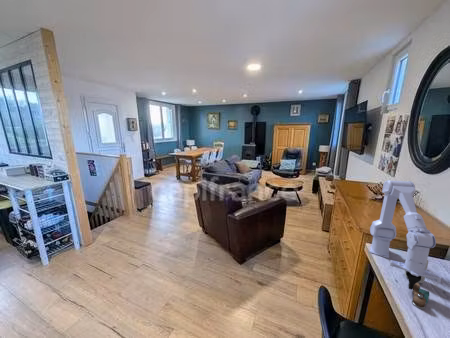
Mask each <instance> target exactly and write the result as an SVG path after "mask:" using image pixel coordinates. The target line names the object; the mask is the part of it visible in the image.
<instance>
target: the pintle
mask: <svg viewBox="0 0 450 338" xmlns="http://www.w3.org/2000/svg"><path fill="white" fill-rule="evenodd" d="M423 295H424V294H422V295H421V294H418V295H417V296H418V297H419V298H421V299H423ZM411 304H412V305H413V306H414V307H416V308H417V309H420V310H426V306H425V307H419V306H417V305H416V304H414V302H413V299H412V300H411Z"/></svg>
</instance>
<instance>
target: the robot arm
mask: <svg viewBox="0 0 450 338" xmlns="http://www.w3.org/2000/svg"><path fill="white" fill-rule="evenodd" d="M415 185H416V184H415V183H414V182H413V181H412V180H409V181H407V180H406V181H405V180H390V179H388V180H385V181H384V182H383V186H382V192H381V193H383V194H384V196H383V200H382V206H381V210H380V215H379V219H377V220H373V221H372V222H371V225H370V226H369V232H370V235H371V236H372V242H371V244H370V250H369V252H370V253H371V254H374V255H377V256H381V257H383V258H386V259H390V245H391V241H393V240H394V239H396V237H397V227H396V225H395V224H394V223H393V218H394V215H395V209H396V205H397V202H398V200H399V203H400V204H401V207H402V208H403V210H404V213H405V214H404V215H403V220H404V223H405V225H406V229H407V233H406V246H407V251H406V252H407V253H406V256H405V257H406V258H405V261H404V262H401V261H397V260H392V259H390V262H389V267H392V268H393V267H395V268H397V269H400V270H403V271H405V270H406V275H407V277H406V279H407V278H408V279H407V280H408V285H407V286H408V289H409V290H411V291H413V290H412V288H413V286H414V284H416V283H417V282H419V281H420V280H421V276H423V277H425V279H430V280H433V281H435V282H436V283H439V284H441V282H442V277H441V275H438V274H436V273H433V272H431V271H429V270H428V269H427V270H425V267H426V263H427V260H428V258H429V253H430V249H433V248H435V247H436V244H437V240H436V237H435V234H433V233H432V232H431V230H430V229H428V228H427V225H426V223H425V220H424V218H423V216H422V215H421V214H420V213H418V210H417V207H416V204H415V198H414V194H415V192H416V186H415Z"/></svg>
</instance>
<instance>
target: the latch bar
mask: <svg viewBox="0 0 450 338" xmlns="http://www.w3.org/2000/svg"><path fill="white" fill-rule="evenodd" d="M419 288H420V289H421V285H420V283H416V284H414V286H413V288H412V290H411V291H412V295H413V298H412V300H413V302H414V304H416V305H417V306H419V307H425V308H426V304H427V303H426V299H425V298H424V297H423V299H421V298H419V297H418V296H417V295H418V294H421V295H423V293H421V292H419Z"/></svg>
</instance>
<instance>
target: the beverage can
mask: <svg viewBox="0 0 450 338" xmlns="http://www.w3.org/2000/svg"><path fill="white" fill-rule="evenodd" d="M428 265H429V260H428V259H427V263H426V267H425V270H427V271H428ZM403 273H404V274H403V275H404V277H405V278H406V279H407V280H408V278H407V275H406V270H404V272H403ZM425 280H426V277H423V276H421V280H420V281H419V282H417V283H419V284H423V283H425Z"/></svg>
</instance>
